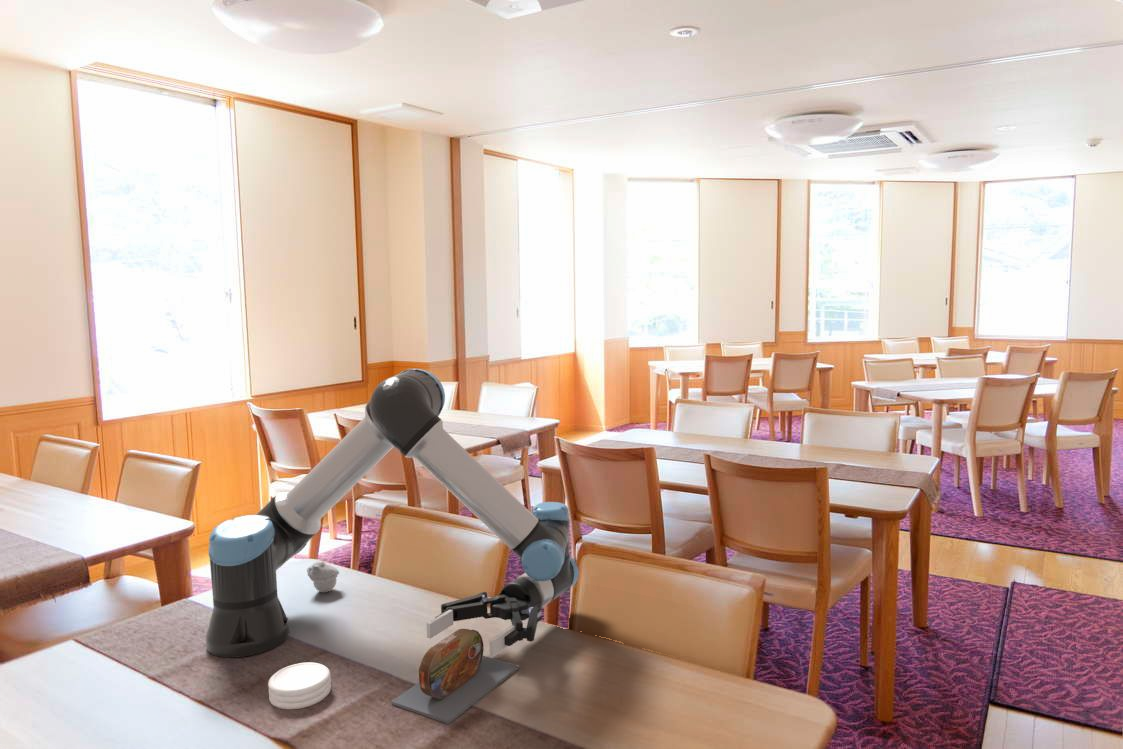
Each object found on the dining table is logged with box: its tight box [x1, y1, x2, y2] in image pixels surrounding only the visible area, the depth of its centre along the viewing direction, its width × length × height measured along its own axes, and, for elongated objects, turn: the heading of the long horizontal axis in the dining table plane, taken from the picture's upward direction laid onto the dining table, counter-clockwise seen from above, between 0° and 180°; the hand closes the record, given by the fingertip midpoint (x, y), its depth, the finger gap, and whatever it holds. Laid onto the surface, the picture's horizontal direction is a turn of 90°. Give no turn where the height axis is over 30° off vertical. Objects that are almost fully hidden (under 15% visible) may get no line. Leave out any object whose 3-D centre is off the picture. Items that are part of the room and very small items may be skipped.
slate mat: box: [391, 655, 519, 725], centre depth 133 cm, size 12×20×1 cm, turn 150°
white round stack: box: [267, 662, 332, 710], centre depth 131 cm, size 10×10×4 cm
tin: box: [418, 628, 484, 699], centre depth 132 cm, size 15×3×8 cm, turn 150°
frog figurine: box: [306, 560, 340, 593], centre depth 174 cm, size 6×7×7 cm
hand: (458, 639), depth 133 cm, fingers open, 13 cm apart
